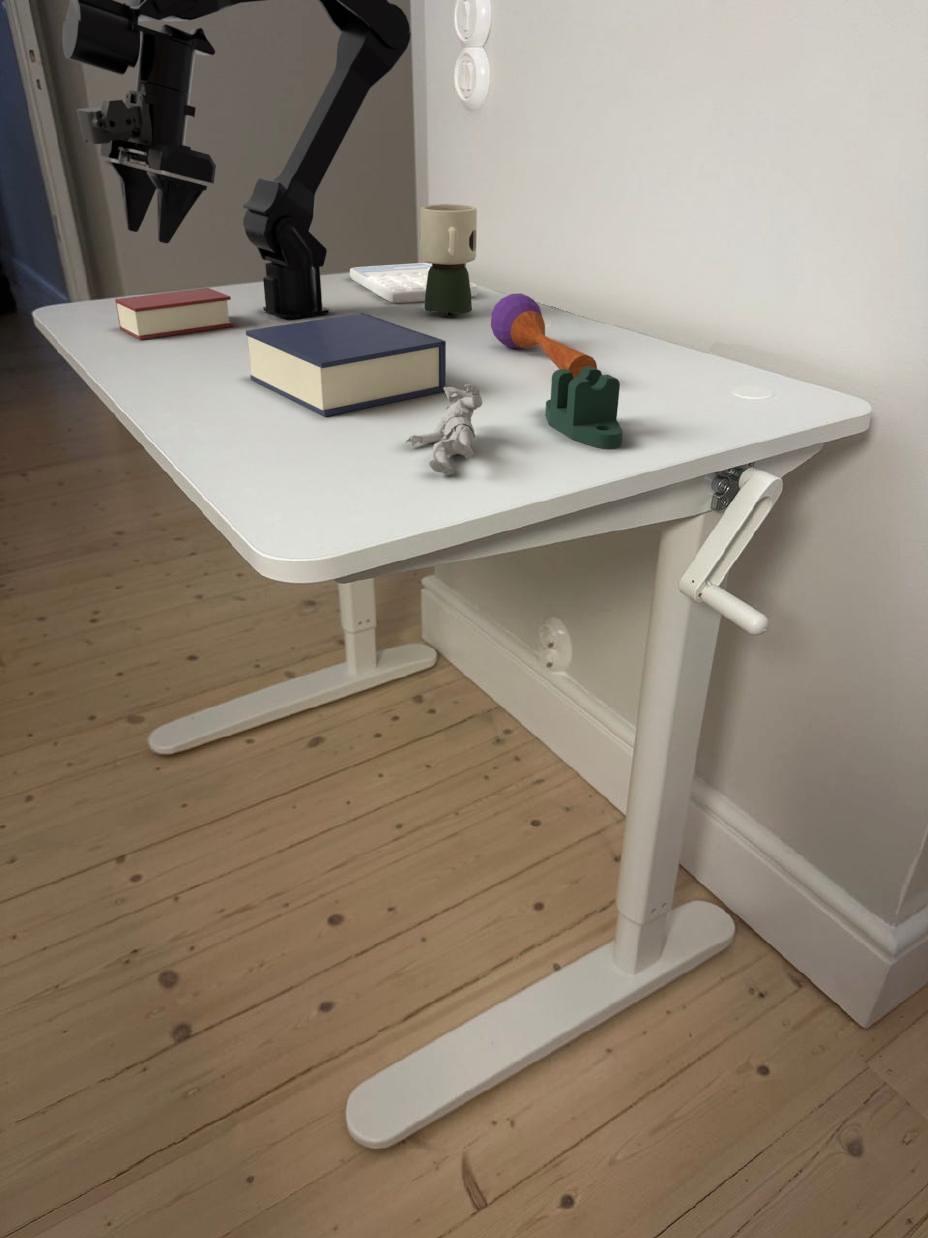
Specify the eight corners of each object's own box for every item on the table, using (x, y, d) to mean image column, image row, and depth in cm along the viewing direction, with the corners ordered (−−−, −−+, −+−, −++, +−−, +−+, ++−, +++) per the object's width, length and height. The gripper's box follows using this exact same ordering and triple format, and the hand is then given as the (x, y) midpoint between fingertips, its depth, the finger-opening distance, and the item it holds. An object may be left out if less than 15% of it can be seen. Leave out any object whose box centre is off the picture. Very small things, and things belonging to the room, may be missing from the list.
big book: (364, 358, 106) (363, 312, 103) (445, 390, 96) (446, 340, 93) (250, 379, 98) (245, 330, 96) (325, 416, 88) (321, 362, 86)
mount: (531, 414, 90) (534, 360, 87) (573, 408, 91) (576, 356, 89) (591, 451, 81) (596, 393, 79) (636, 444, 83) (642, 387, 80)
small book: (211, 316, 123) (208, 287, 121) (233, 326, 118) (230, 296, 117) (120, 329, 116) (115, 298, 115) (140, 339, 112) (135, 308, 110)
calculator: (391, 304, 130) (391, 290, 129) (347, 278, 146) (347, 265, 145) (480, 297, 135) (480, 283, 134) (428, 272, 151) (428, 259, 150)
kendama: (553, 350, 94) (479, 294, 110) (558, 406, 98) (486, 344, 113) (607, 335, 95) (527, 281, 111) (609, 390, 99) (532, 331, 114)
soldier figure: (402, 486, 76) (396, 398, 84) (444, 517, 79) (435, 428, 87) (472, 428, 73) (459, 341, 81) (514, 462, 75) (498, 374, 83)
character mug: (481, 322, 122) (483, 212, 115) (425, 324, 121) (425, 213, 114) (468, 304, 131) (470, 201, 124) (417, 305, 130) (415, 202, 123)
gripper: (60, 63, 106) (50, 211, 112) (122, 67, 94) (107, 233, 99) (157, 93, 114) (142, 230, 119) (226, 100, 101) (206, 254, 107)
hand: (147, 236), depth 111 cm, fingers open, 9 cm apart
